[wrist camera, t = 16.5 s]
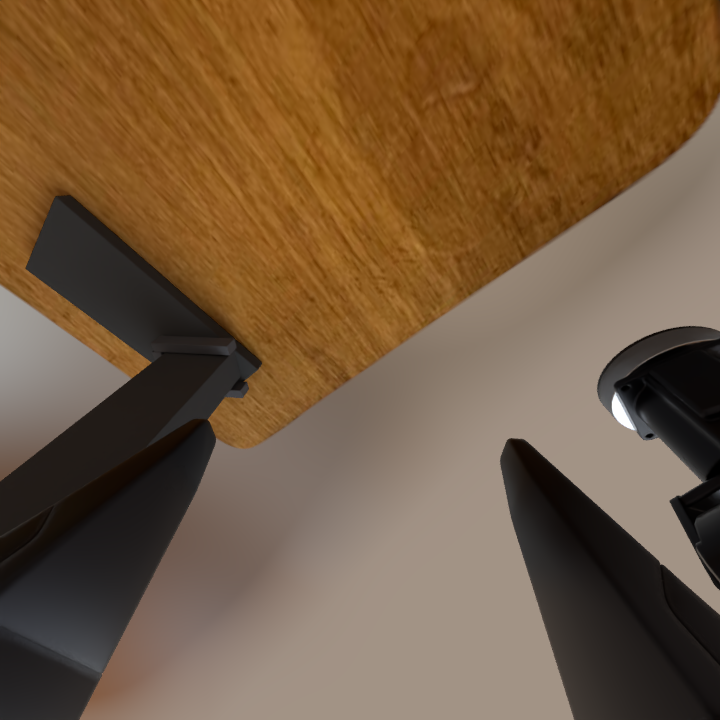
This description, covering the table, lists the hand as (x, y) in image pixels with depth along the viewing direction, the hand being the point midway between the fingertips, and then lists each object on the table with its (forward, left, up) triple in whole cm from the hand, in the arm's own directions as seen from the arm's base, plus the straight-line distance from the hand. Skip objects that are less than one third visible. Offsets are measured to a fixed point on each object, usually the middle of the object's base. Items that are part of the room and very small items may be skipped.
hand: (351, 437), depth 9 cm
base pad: (+9, +15, -13) cm, 22 cm away
